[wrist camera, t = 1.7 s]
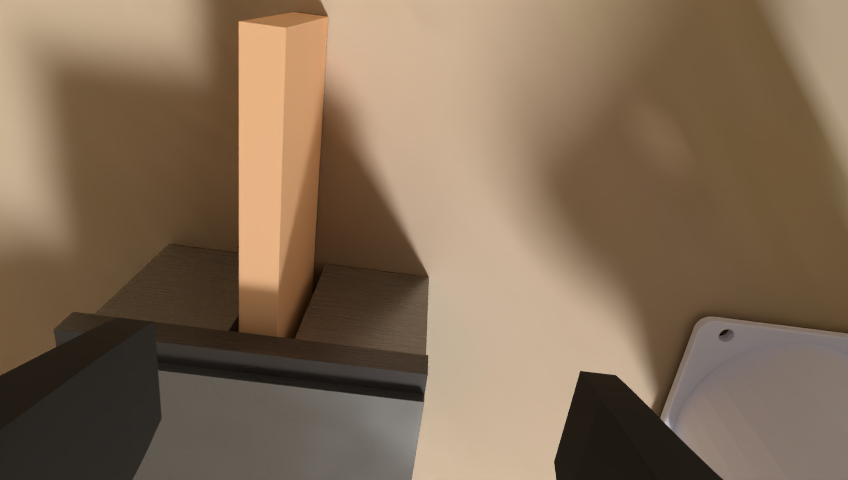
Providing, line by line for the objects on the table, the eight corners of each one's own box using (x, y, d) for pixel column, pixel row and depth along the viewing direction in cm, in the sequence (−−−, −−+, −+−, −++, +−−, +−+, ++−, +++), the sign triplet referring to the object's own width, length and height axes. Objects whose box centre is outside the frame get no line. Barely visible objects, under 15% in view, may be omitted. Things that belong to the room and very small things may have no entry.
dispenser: (430, 261, 20) (427, 382, 14) (408, 412, 22) (396, 569, 16) (167, 228, 20) (46, 336, 13) (176, 385, 22) (77, 534, 16)
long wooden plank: (328, 16, 17) (286, 27, 12) (308, 358, 22) (273, 458, 17) (293, 11, 17) (238, 21, 12) (281, 354, 21) (239, 454, 17)
